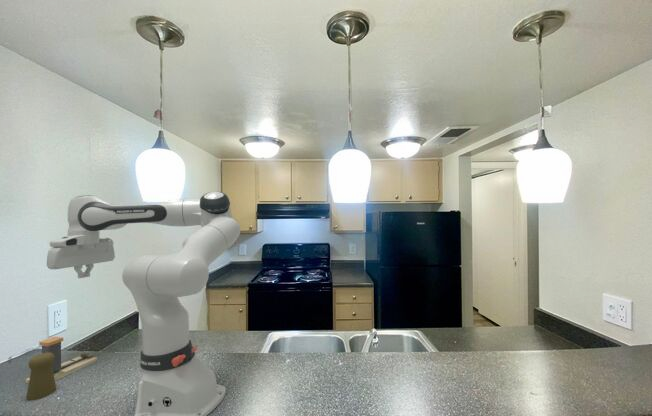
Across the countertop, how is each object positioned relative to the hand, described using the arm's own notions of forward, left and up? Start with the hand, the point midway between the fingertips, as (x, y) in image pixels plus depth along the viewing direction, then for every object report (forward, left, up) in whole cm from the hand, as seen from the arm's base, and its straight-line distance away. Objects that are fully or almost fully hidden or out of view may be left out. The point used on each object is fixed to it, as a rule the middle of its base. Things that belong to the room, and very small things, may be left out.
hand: (84, 277), depth 100 cm
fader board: (-3, +8, -29) cm, 30 cm away
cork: (-11, +18, -29) cm, 36 cm away
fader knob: (-3, +11, -27) cm, 30 cm away
